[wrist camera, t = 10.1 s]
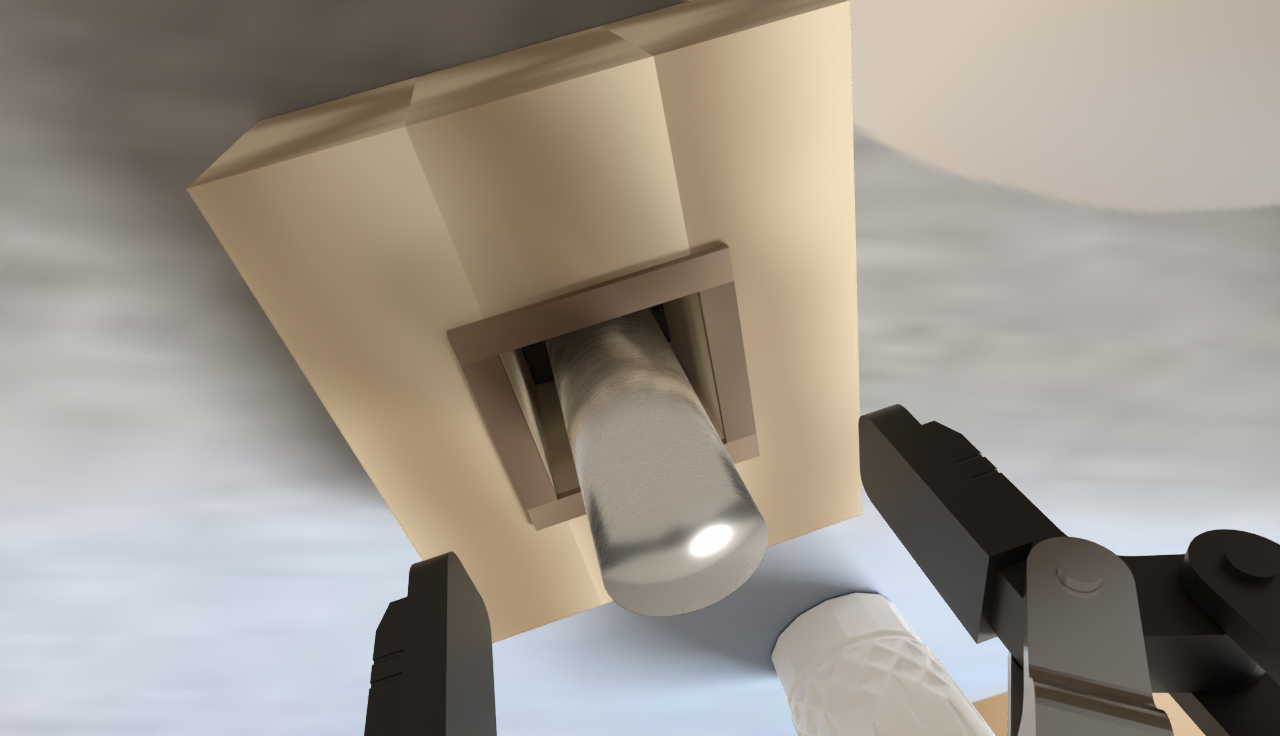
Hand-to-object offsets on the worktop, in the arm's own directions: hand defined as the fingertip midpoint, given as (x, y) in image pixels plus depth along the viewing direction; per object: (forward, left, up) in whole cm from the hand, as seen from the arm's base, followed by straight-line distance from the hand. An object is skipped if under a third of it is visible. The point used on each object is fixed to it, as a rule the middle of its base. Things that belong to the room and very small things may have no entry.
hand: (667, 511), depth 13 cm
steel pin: (0, 0, -9) cm, 9 cm away
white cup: (-7, +22, -9) cm, 25 cm away
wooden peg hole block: (0, 0, -9) cm, 9 cm away
